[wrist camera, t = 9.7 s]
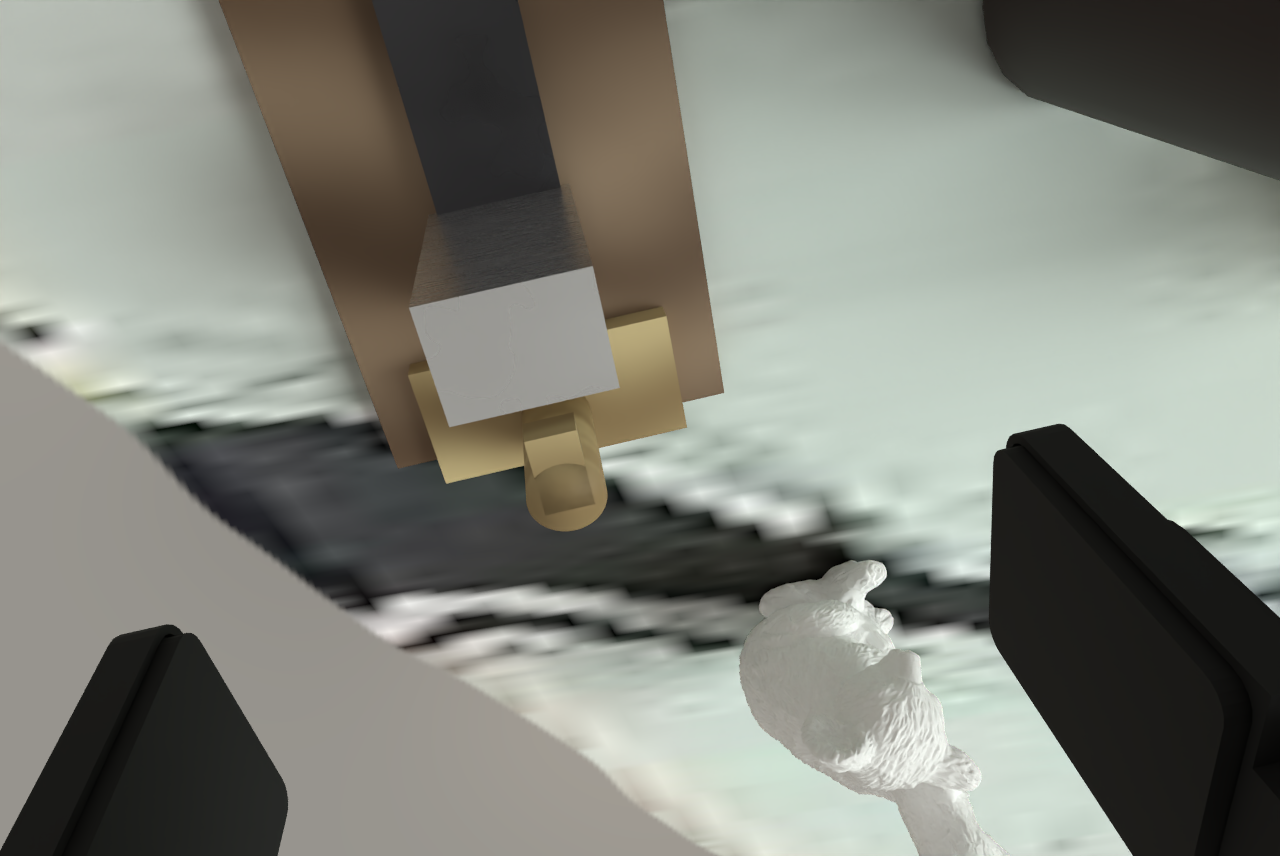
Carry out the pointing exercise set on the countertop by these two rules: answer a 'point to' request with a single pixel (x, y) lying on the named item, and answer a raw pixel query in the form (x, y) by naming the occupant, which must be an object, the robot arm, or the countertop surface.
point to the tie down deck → (401, 202)
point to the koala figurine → (860, 706)
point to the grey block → (493, 217)
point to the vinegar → (1153, 68)
